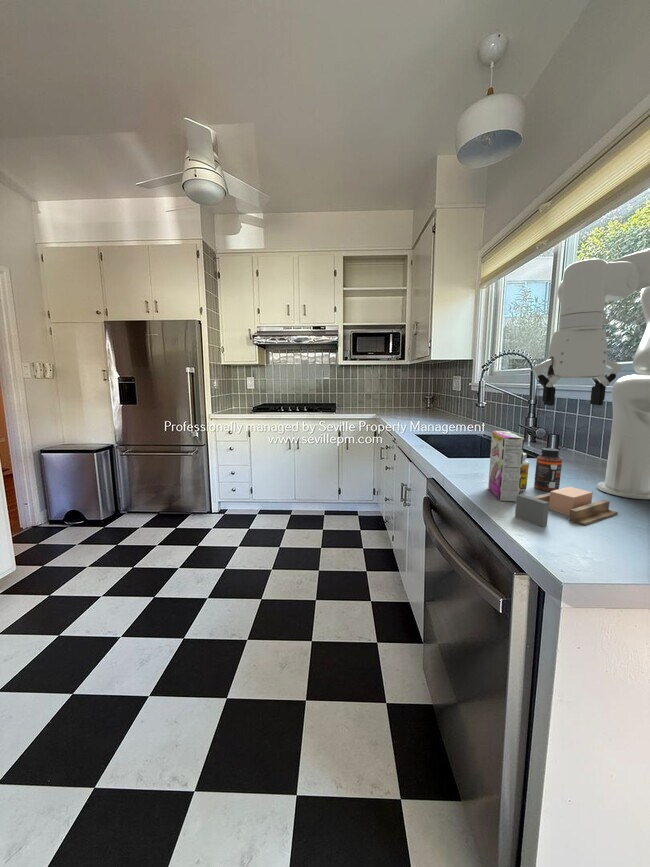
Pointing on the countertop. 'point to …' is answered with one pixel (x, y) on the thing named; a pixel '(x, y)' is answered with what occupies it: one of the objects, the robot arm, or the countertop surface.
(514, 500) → the candy bar box
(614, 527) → the countertop surface
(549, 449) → the supplement bottle
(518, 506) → the block
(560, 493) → the block
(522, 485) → the supplement bottle
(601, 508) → the chute
